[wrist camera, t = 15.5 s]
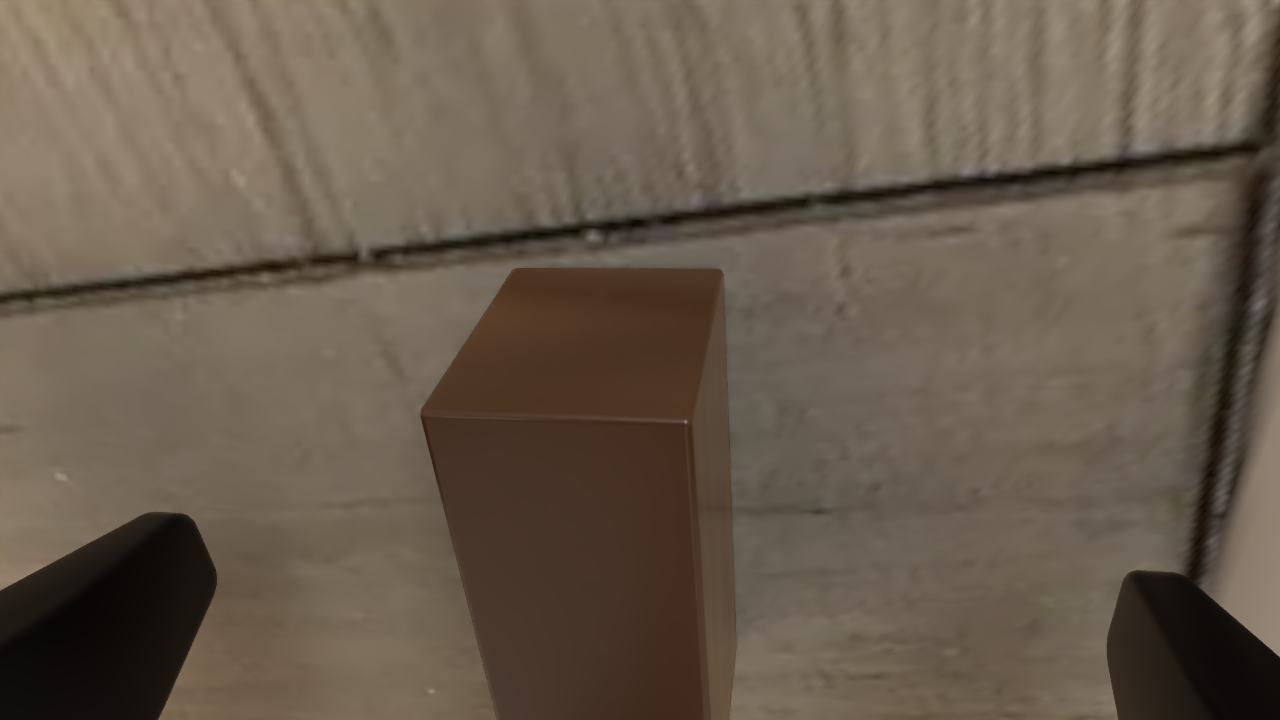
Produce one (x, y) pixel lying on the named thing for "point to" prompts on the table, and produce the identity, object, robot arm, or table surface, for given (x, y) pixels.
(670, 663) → the tall brown square pillar
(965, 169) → the table surface
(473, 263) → the table surface
